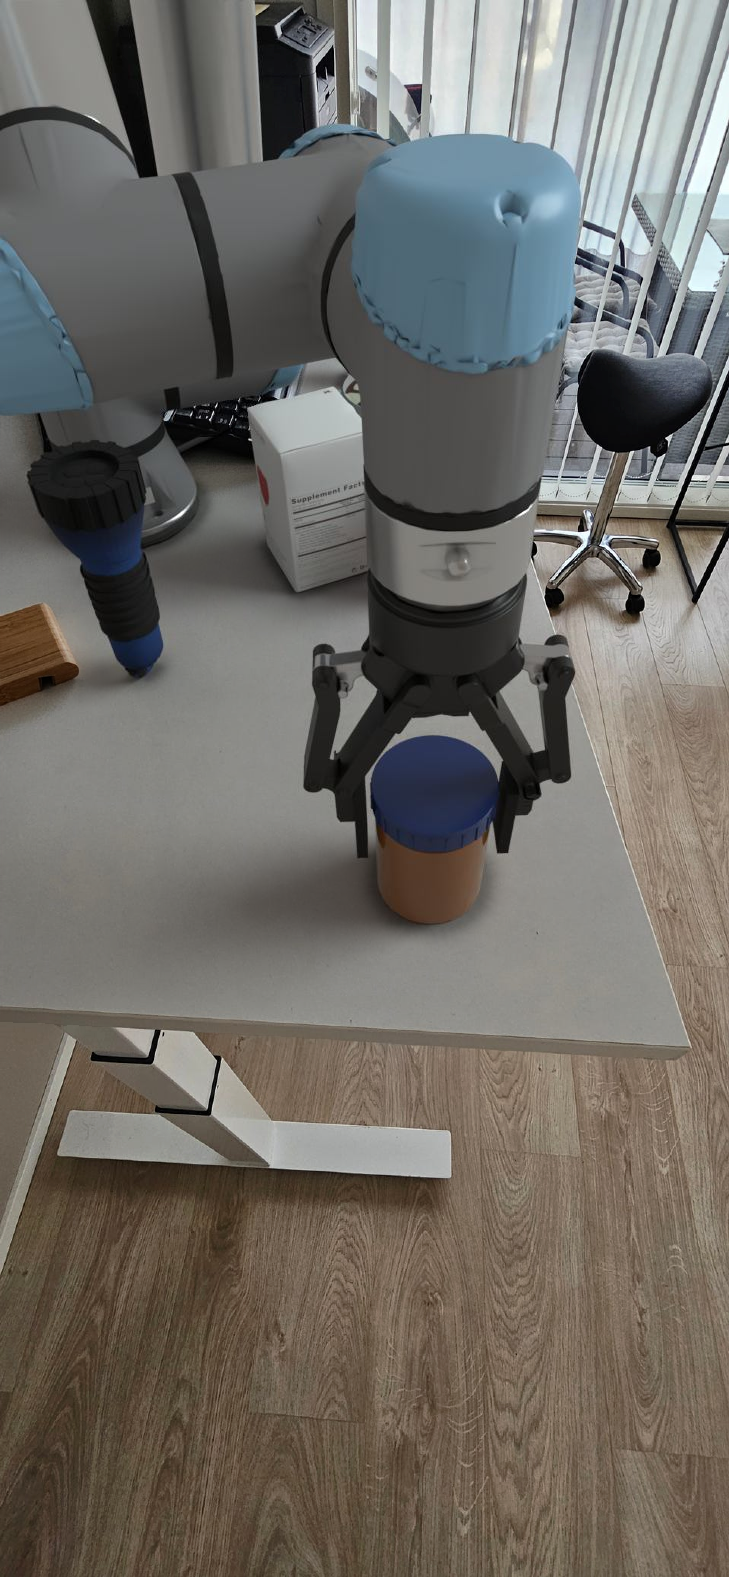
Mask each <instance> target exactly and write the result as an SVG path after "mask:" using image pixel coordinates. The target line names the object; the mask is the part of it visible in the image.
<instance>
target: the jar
mask: <svg viewBox="0 0 729 1577" xmlns="http://www.w3.org/2000/svg"><path fill="white" fill-rule="evenodd" d="M374 822H375V823H374V828H375V829H374V830H375V857H376V858H375V859H376V883H377V887H378V891H379V894H380V896H381V898H382V899H383V901H384V902H385V904H386V906H388V907H389V908H390V909H391V910H392V911H393V912H394V913H396V915H399V916H400V917H402V918H403V919H406V920H408V921H410V922H415V923H418V924H424V925H425V924H426V925H436V924H443V923H447V922H450V921H452V920H455V919H457V918H459V917H461V916H462V915H464V914H465V913H466V912H467V911H469V909H470V908H472V906H473V905H474V903H476V901H477V899H478V897H479V895H480V891H481V886H482V881H483V874H484V867H485V863H486V855H487V848H488V842H489V836H490V831H491V830H490V829H491V825H490V826H489V829H488V831H487V830H486V831H485V833H484V834H483V835H482V836H481V837H479V838H478V840H477V841H474V842H472V843H471V844H469V845H467V846H465V847H464V848H459V849H456V850H453V851H447V852H430V853H428V852H424V851H418V850H414V849H411V848H409V847H406V846H404V845H402V844H400V843H397V842H396V841H395V840H393V839H392V838H391V837H389V836H388V835H387V834H386V833H384V831H383V830H382V828H381V827H380V826H379V824H378V823H377V821H375V820H374Z"/></svg>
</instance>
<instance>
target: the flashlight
mask: <svg viewBox="0 0 729 1577" xmlns="http://www.w3.org/2000/svg"><path fill="white" fill-rule="evenodd" d="M29 466H30V470H27V472H26V478H27V484H28V487H29V490H30V493H31V496H32V498H33V501H34V503H35V506H36V509H37V512H38V514H39V516H40V517H41V518H42V519H43V520H44V522H45V523H46V524H47V526H48V528H49V529H50V531H51V532H52V533H53V534H54V536H55V537H56V538H57V539H58V541H59V542H60V543H61V545H63V546H64V547H65V548H66V549H67V550H68V551H69V553H71V554H72V555H73V556H75V557H76V558H77V559H78V560H79V561H80V565H79V572H80V575H81V578H82V579H83V582H84V586H85V589H86V590H87V591H86V592H87V595H88V598H89V600H90V602H91V606H92V609H93V611H94V614H95V617H96V619H97V620H98V624H99V628H100V630H101V632H102V633H103V635H105V636H107V638H108V641H109V645H110V646H111V649H112V652H113V654H114V657H115V659H116V661H117V662H118V663H119V664H120V665H121V666H123V667H124V670H125V671H126V672H127V674H128V675H129V676H131V677H132V678H133V679H141V678H143V677H145V676H147V675H148V674H149V673H150V671H151V670H152V669H153V667H154V664H155V663H157V661H158V659H160V657H161V655H162V652H163V650H164V640H163V636H162V632H161V628H160V624H159V623H160V620H161V612H160V606H159V604H158V599H157V596H156V591H155V590H156V589H155V585H154V580H153V578H152V576H151V568H150V565H149V560H148V557H147V554H146V553H145V551H143V552H142V547H140V544H141V536H142V524H143V516H144V504H145V502H146V495H145V494H146V493H147V492H146V488H145V484H144V480H143V476H142V472H141V468H140V464H139V460H138V457H137V456H136V457H135V454H134V451H132V450H131V449H130V448H129V449H125V448H123V447H121V446H119V445H116V443H115V442H112V441H108V442H107V443H105V442H100V441H99V440H91V441H90V442H83V443H82V442H81V441H78V442H72V444H71V445H68V446H63V445H62V446H58V447H55V450H53V449H52V451H50V452H47V451H45V452H43V453H41V454H40V458H39V459H38V460H34V461H32V462H31V464H30V465H29Z"/></svg>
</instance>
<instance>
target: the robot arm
mask: <svg viewBox="0 0 729 1577" xmlns="http://www.w3.org/2000/svg"><path fill="white" fill-rule="evenodd" d="M255 2H256V1H255V0H129V4H130V11H131V17H132V23H133V29H134V35H135V42H136V48H137V54H138V60H139V66H140V67H139V68H140V73H141V79H142V84H143V85H142V86H143V93H144V97H145V104H146V110H147V116H148V121H149V122H148V123H149V128H150V129H149V130H150V134H151V140H152V141H151V142H152V147H153V153H154V159H155V165H156V166H155V167H156V172H157V176H149V177H140V175H139V172H138V169H137V163H136V161H135V157H134V153H133V149H132V147H131V143H130V141H129V137H128V134H127V130H126V127H125V124H124V120H123V118H122V114H121V111H120V107H119V103H118V101H117V97H116V94H115V91H114V88H113V84H112V81H111V78H110V75H109V71H108V68H107V64H106V62H105V57H104V55H103V51H102V49H101V45H100V41H99V39H98V35H97V31H96V29H95V25H94V22H93V19H92V16H91V12H90V10H89V5H88V2H87V0H0V416H3V417H4V416H5V417H6V416H7V417H8V416H10V417H11V416H19V415H29V414H30V415H31V414H32V415H33V414H39V415H40V417H41V420H42V424H43V426H44V429H45V432H46V435H47V437H48V440H49V443H50V446H51V449H52V451H53V450H55V447H58V446H62V445H63V446H68V445H71V444H72V442H78V441H81V442H82V443H83V442H90V441H91V440H99V441H100V442H105V443H107V442H108V441H112V442H115V443H116V445H119V446H121V447H123V448H125V449H129V448H130V449H131V450H132V451H134V454H135V457H136V456H137V457H138V460H139V464H140V468H141V472H142V476H143V480H144V484H145V488H146V492H147V493H146V494H145V495H146V502H145V504H144V516H143V524H142V536H141V544H140V548H144V547H148V546H152V545H154V544H157V543H161V542H162V541H165V540H167V539H169V538H170V537H173V536H174V535H175V534H178V533H179V532H180V531H182V530H183V529H184V528H186V527H187V526H188V525H189V524H190V523H191V522H192V520H193V519H194V518H195V516H196V514H197V513H198V510H199V507H200V496H199V491H198V487H197V483H196V479H195V477H194V475H193V473H192V472H191V470H190V468H189V466H188V465H187V464H186V462H185V461H184V459H183V457H182V456H181V453H183V452H185V451H187V450H189V449H192V448H193V447H195V446H198V445H200V444H202V443H204V442H207V441H209V440H211V439H213V438H214V437H199V436H197V437H195V438H193V439H191V440H188V441H187V442H185V443H182V444H180V445H178V446H176V445H175V444H174V442H173V440H172V438H171V437H170V436H169V433H168V431H167V427H166V424H165V423H166V422H165V419H164V415H163V413H167V412H171V411H176V410H181V409H187V408H192V407H197V406H203V405H209V404H214V403H220V402H225V401H230V400H231V401H232V400H236V399H241V398H246V397H254V396H260V395H261V396H262V395H266V394H267V393H268V392H271V391H275V390H279V389H283V388H286V387H289V386H290V385H292V384H293V383H294V382H295V381H296V380H297V379H298V377H299V375H300V374H301V371H302V369H303V366H304V365H305V364H310V363H315V362H321V361H325V360H331V359H336V360H337V361H338V362H339V363H340V365H341V366H342V367H343V368H344V370H345V371H346V372H347V374H348V373H349V374H350V375H351V376H352V377H353V378H354V379H355V381H356V382H357V384H358V389H359V394H360V400H361V419H362V438H363V457H364V465H363V469H364V503H365V526H366V549H367V564H368V566H369V569H368V571H367V572H366V573H367V576H366V582H367V583H366V584H367V585H366V586H367V612H368V613H367V614H368V634H367V637H366V638H365V640H364V641H363V643H362V645H361V647H360V649H359V650H358V649H357V650H352V651H345V652H344V651H343V652H338V653H337V652H336V650H335V648H334V646H332V645H331V644H328V643H320V644H317V645H315V646H314V647H313V649H312V662H311V664H312V665H311V666H312V667H311V674H312V675H311V687H312V689H313V694H314V696H315V698H314V702H313V708H312V713H311V718H310V724H309V729H308V733H307V734H308V735H307V740H306V745H305V751H304V754H303V779H302V780H303V781H302V782H303V785H302V786H303V790H304V791H306V792H308V793H312V794H314V793H315V794H316V793H319V792H321V791H322V790H323V789H325V790H328V791H330V792H332V793H333V795H334V802H335V803H334V804H335V811H336V812H335V813H336V819H337V820H338V821H339V822H340V823H354V830H355V832H354V834H355V844H356V846H355V847H356V858H357V859H369V831H368V830H369V828H368V808H367V807H368V804H367V787H366V784H367V783H366V777H367V775H368V773H369V772H370V771H371V769H372V768H373V767H374V766H375V763H377V762H378V760H379V759H380V757H381V756H382V753H383V752H384V751H385V749H386V748H387V746H388V745H389V744H390V742H391V741H392V739H393V738H394V736H395V735H396V734H397V735H400V734H402V733H403V731H404V730H405V728H406V727H407V726H408V724H410V722H411V720H412V719H426V718H431V717H435V716H440V715H442V716H449V717H453V718H454V717H456V718H457V717H469V716H470V714H471V716H472V717H473V719H474V721H475V723H476V725H478V727H479V729H480V730H481V731H482V732H485V734H486V735H487V737H488V738H489V740H490V742H491V743H492V745H493V746H494V748H495V750H496V752H497V753H498V754H499V756H500V758H501V759H502V761H501V764H500V771H499V776H498V782H499V791H498V792H499V799H498V805H497V809H496V815H495V818H493V820H492V829H493V834H494V836H493V837H494V842H495V850H496V854H499V855H501V854H509V852H510V847H511V841H512V835H513V830H514V826H515V820H516V816H517V817H518V816H519V817H520V816H521V817H522V816H528V815H529V814H530V813H531V812H532V810H533V805H534V802H535V801H538V800H539V799H540V798H541V797H542V794H543V793H542V789H541V783H543V782H546V781H551V782H552V783H553V784H558V785H559V784H566V783H567V782H569V781H570V780H571V778H572V767H571V754H570V753H571V752H570V742H569V726H568V716H567V703H566V697H567V695H568V693H569V691H570V688H571V686H572V683H573V681H574V679H575V677H576V668H575V665H574V661H573V657H572V654H571V649H570V645H569V641H568V638H567V637H566V636H565V635H563V634H553V635H551V636H549V637H547V639H546V640H545V642H544V643H543V644H534V643H523V642H522V639H521V638H520V631H521V624H522V619H523V618H522V617H523V612H524V604H525V598H526V592H527V586H528V575H527V573H528V569H529V567H530V563H531V558H532V551H533V542H534V537H535V530H536V522H537V515H538V508H539V507H538V506H539V500H540V494H541V493H540V492H541V487H542V486H541V485H542V480H543V475H544V471H545V467H546V461H547V454H548V448H549V443H550V439H551V438H550V437H551V432H552V426H553V419H554V414H555V407H556V401H557V396H558V391H559V384H560V378H561V373H562V366H563V361H564V355H565V349H566V343H567V337H568V332H569V326H570V325H571V321H572V317H573V315H574V312H575V306H576V305H575V300H576V294H577V288H576V287H575V283H576V273H575V271H576V270H575V262H576V253H577V247H578V246H577V245H578V237H579V229H580V228H579V227H580V220H581V219H580V218H581V210H582V193H581V188H580V183H579V180H578V177H577V175H576V173H575V171H574V170H573V167H572V165H571V164H570V163H569V162H568V161H567V160H566V159H565V158H564V157H563V156H562V155H561V154H559V153H558V152H556V151H555V150H553V149H551V148H550V147H548V146H545V145H543V144H540V143H537V142H529V141H528V142H520V141H516V140H514V138H512V137H511V136H505V135H501V134H489V133H453V134H451V133H449V134H443V135H442V134H441V135H435V136H427V137H421V138H417V139H414V140H413V139H412V140H409V141H406V142H404V143H400V144H398V143H397V142H396V141H395V140H393V139H392V138H383V137H382V136H381V134H379V133H378V132H377V131H372V130H368V129H365V128H363V127H360V126H357V125H353V124H348V123H328V124H324V125H320V126H318V127H315V128H312V129H310V130H308V131H306V132H305V133H303V134H302V135H301V137H298V138H297V139H295V140H294V141H293V142H292V143H291V144H290V145H289V146H288V148H286V149H285V150H284V151H282V153H280V156H279V157H278V158H277V159H271V160H264V158H263V142H262V140H263V138H262V121H261V118H262V117H261V102H260V101H261V100H260V82H259V81H260V80H259V62H258V60H259V58H258V41H257V40H258V39H257V38H258V37H257V23H256V22H257V20H256V4H255ZM263 160H264V161H263ZM261 396H260V397H261ZM522 670H523V671H526V672H527V673H528V674H527V675H528V678H529V682H530V683H531V684H533V685H534V686H536V688H537V693H538V694H537V695H538V701H539V710H540V720H541V728H542V736H543V745H544V749H542V750H539V751H536V752H534V750H533V749H532V747H531V745H530V743H529V741H528V740H527V738H526V736H525V735H524V733H523V731H522V729H521V727H520V725H519V723H518V722H517V720H516V718H515V717H514V715H513V713H512V711H511V709H510V708H509V706H508V704H507V702H506V701H505V699H504V696H503V695H502V693H501V692H500V691H501V690H502V689H503V688H505V687H506V686H507V685H508V684H509V683H510V682H512V681H513V680H514V679H515V678H516V677H517V676H518V675H519V674H520V673H521V672H522ZM360 677H364V678H365V679H366V681H368V682H369V683H370V684H371V685H372V686H373V687H374V688H375V689H376V692H375V695H374V697H373V699H372V700H371V701H370V702H369V705H368V706H367V708H366V709H365V711H364V713H363V714H362V716H361V717H360V719H359V720H358V722H357V723H356V725H355V727H354V729H353V730H352V731H351V733H350V735H349V736H348V738H347V739H346V741H345V742H344V744H343V745H342V747H341V748H340V750H339V751H338V752H337V750H336V749H334V750H333V748H334V742H335V738H336V733H337V730H338V725H339V721H340V716H341V699H346V698H347V697H348V696H349V693H350V692H351V691H352V690H353V688H354V683H355V681H356V680H357V679H359V678H360ZM332 751H333V759H332V758H331V756H332Z"/></svg>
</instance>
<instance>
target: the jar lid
mask: <svg viewBox="0 0 729 1577" xmlns="http://www.w3.org/2000/svg"><path fill="white" fill-rule="evenodd" d="M373 767H374V768H373V770H372V772H371V777H370V782H369V792H370V794H369V795H370V797H369V800H370V801H369V802H370V809H371V810H372V814H373V817H374V822H375V821H377V823H378V824H379V826H380V827H381V828H382V830H383V831H384V833H386V834H387V835H388V836H389V837H391V838H392V839H393V840H395V841H396V842H397V843H400V844H402V845H404V846H406V847H409V848H411V849H414V850H418V851H424V852H428V853H430V852H447V851H453V850H456V849H459V848H464V847H465V846H467V845H469V844H471V843H472V842H474V841H477V840H478V838H479V837H481V836H482V835H483V834H484V833H485V831H486V830H487V831H488V829H489V826H490V827H491V824H493V822H492V820H493V818H495V815H496V809H497V805H498V799H499V792H498V791H499V776H498V773H497V771H496V769H495V767H494V765H493V763H492V762H491V760H490V759H489V758H488V756H486V755H485V754H484V753H483V752H482V751H481V750H479V749H478V748H477V747H476V746H474V745H473V744H470V743H469V742H467V741H464V740H462V739H459V738H456V737H452V736H448V735H439V734H438V735H437V734H435V735H434V734H425V735H419V736H414V737H410V738H407V739H404V740H403V741H400V742H398V743H396V744H394V745H393V746H391V747H390V748H388V749H387V750H386V751H385V752H384V753H383V754H381V756H380V757H379V758H378V759H377V761H376V764H374V766H373Z"/></svg>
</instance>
